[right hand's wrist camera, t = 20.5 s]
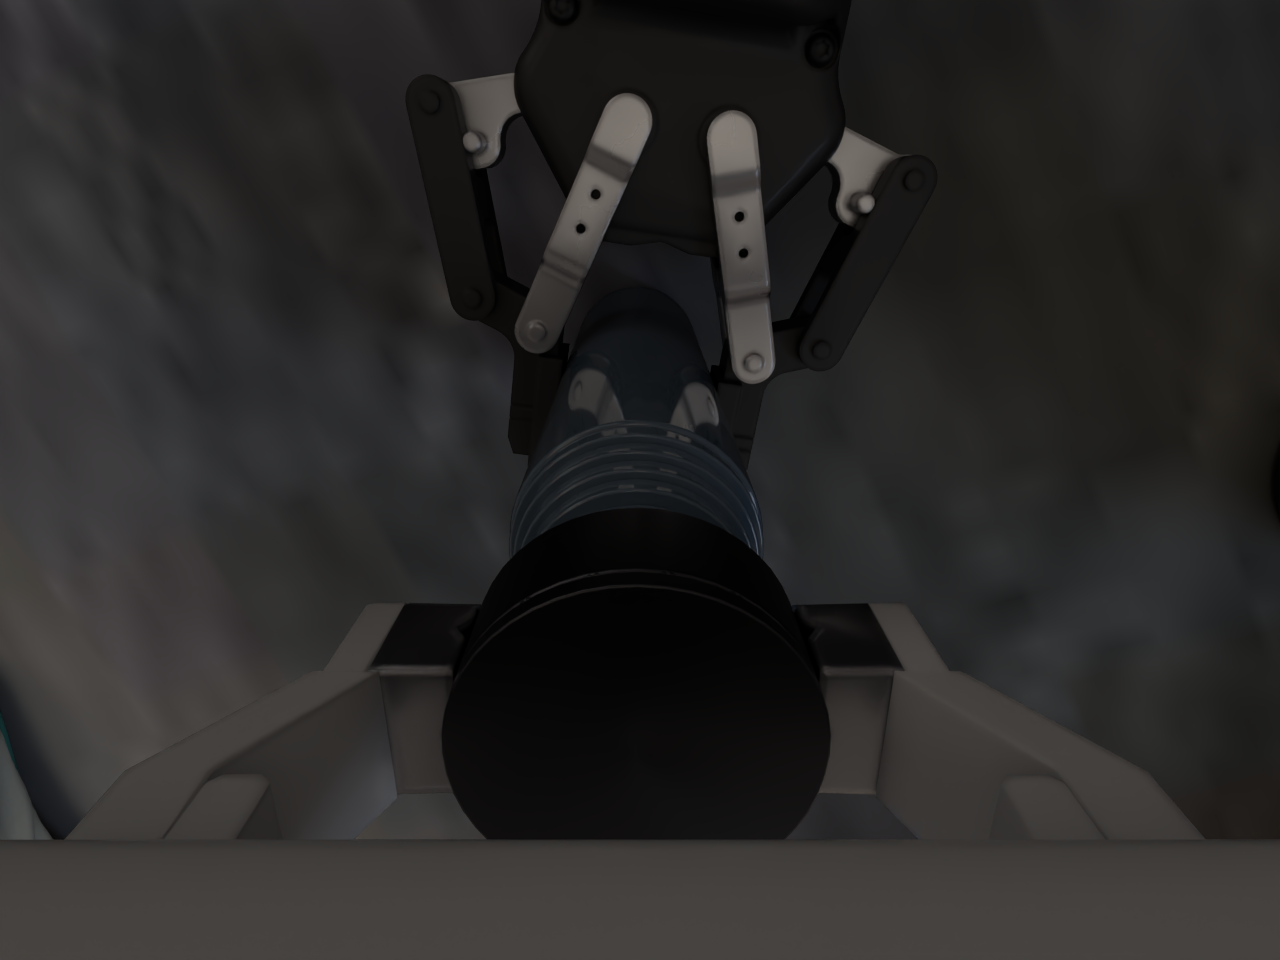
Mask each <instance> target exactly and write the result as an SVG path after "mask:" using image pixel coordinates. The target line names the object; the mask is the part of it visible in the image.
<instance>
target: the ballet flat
mask: <svg viewBox="0 0 1280 960" xmlns="http://www.w3.org/2000/svg"><path fill="white" fill-rule="evenodd" d="M0 840H54V839H53V838H52V837H51V835H50V834H49V832H48V831H47V830H46V828H45V827H44V826H43V824H42V823H41V821H40V819H39V817H38V815H37V813H36V811H35V809H34V808H33V806H32V803H31V800H30V797H29V795H28V792H27V789H26V787H25V785H24V783H23V781H22V779H21V777H20V775H19V772H18V768H17V764H16V761H15V757H14V754H13V750H12V747H11V743H10V740H9V736H8V733H7V730H6V727H5V724H4V721H3V718H2V715H1V712H0Z"/></svg>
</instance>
